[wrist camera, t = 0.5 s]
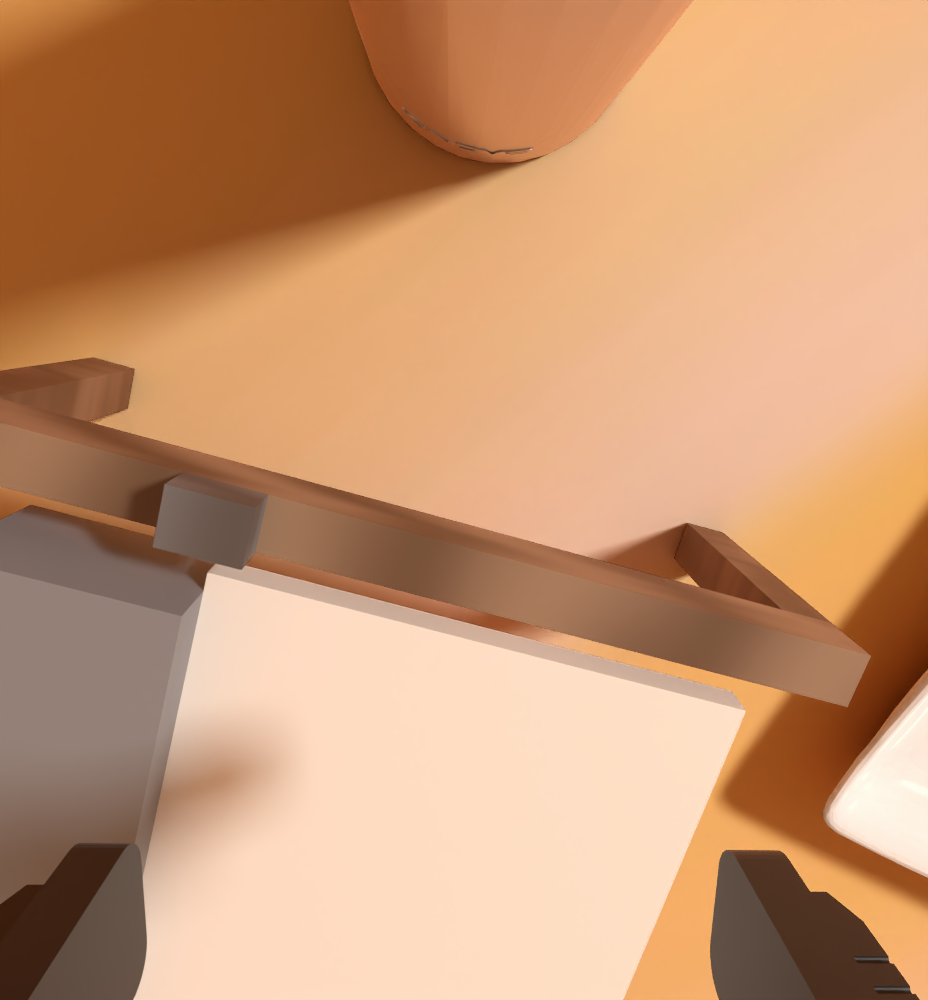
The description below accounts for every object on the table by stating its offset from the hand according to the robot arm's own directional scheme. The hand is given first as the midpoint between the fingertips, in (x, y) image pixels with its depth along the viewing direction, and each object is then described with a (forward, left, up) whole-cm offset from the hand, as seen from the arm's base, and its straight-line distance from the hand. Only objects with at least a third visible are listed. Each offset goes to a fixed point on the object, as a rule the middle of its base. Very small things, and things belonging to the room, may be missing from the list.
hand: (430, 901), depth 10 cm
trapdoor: (+7, -2, -11) cm, 13 cm away
